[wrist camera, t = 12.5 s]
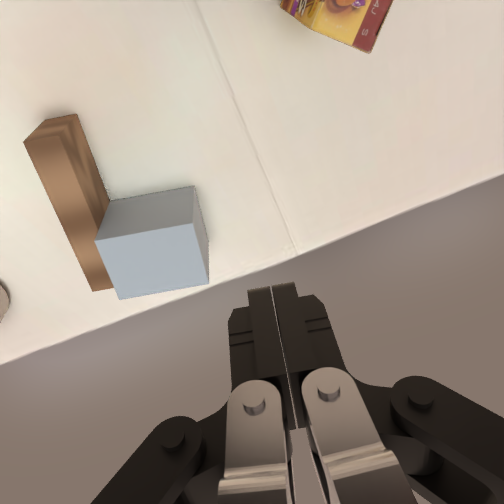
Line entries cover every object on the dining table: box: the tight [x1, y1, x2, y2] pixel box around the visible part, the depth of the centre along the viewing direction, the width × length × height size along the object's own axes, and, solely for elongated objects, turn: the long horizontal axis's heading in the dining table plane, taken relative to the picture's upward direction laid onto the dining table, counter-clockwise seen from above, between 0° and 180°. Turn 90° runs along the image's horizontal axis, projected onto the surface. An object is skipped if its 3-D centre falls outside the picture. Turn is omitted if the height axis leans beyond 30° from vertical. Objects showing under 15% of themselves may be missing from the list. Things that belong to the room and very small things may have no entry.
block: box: [94, 186, 209, 300], centre depth 45 cm, size 7×9×8 cm
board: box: [23, 114, 114, 292], centre depth 43 cm, size 16×3×6 cm, turn 9°
